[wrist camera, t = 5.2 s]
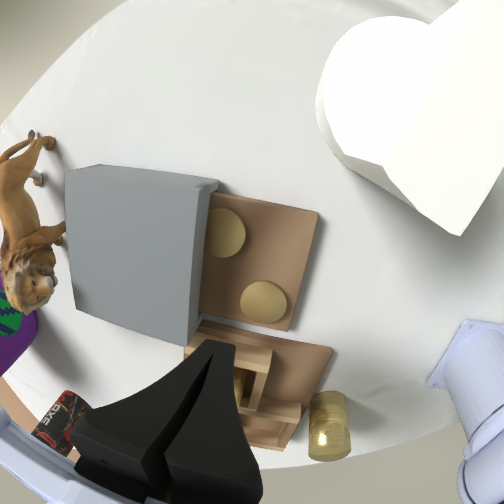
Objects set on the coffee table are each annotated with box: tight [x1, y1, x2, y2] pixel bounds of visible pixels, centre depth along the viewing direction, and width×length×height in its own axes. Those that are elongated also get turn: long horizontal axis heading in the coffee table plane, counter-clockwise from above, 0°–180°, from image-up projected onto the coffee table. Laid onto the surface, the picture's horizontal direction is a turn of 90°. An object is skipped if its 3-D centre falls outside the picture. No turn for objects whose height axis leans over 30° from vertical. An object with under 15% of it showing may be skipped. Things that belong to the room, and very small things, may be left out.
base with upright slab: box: [315, 0, 504, 236], centre depth 10 cm, size 9×9×12 cm
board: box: [198, 192, 318, 332], centre depth 20 cm, size 8×9×2 cm
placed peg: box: [233, 366, 248, 410], centre depth 21 cm, size 4×4×6 cm
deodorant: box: [31, 390, 92, 457], centre depth 27 cm, size 6×6×15 cm
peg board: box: [184, 320, 332, 452], centre depth 24 cm, size 12×14×3 cm
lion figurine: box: [0, 130, 66, 315], centre depth 18 cm, size 15×5×9 cm, turn 20°
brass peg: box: [308, 391, 351, 462], centre depth 22 cm, size 4×4×6 cm
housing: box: [65, 164, 219, 348], centre depth 19 cm, size 10×11×4 cm
